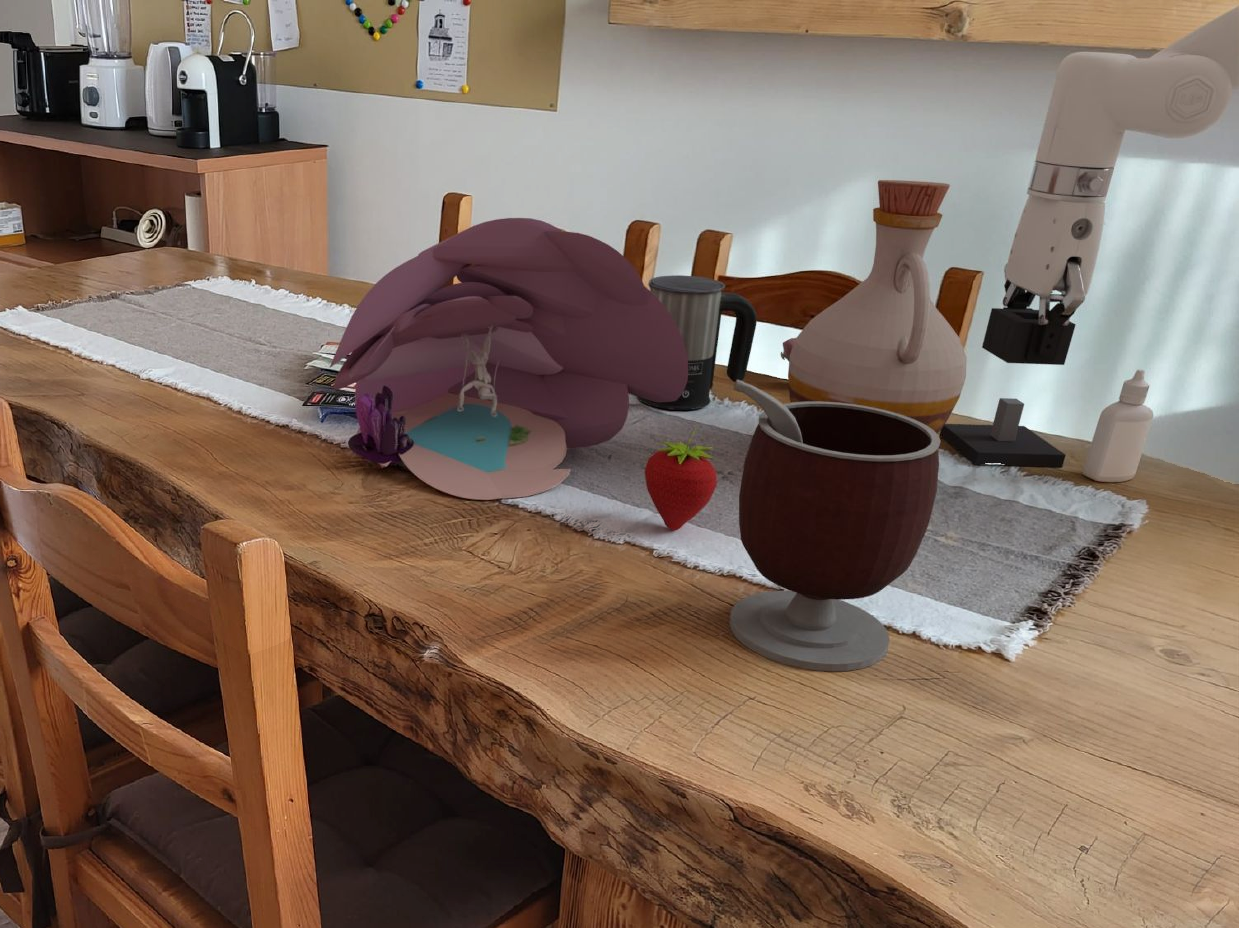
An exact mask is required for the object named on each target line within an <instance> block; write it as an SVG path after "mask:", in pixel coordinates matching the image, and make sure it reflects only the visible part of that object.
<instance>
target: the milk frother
mask: <svg viewBox="0 0 1239 928" xmlns="http://www.w3.org/2000/svg"><path fill="white" fill-rule="evenodd" d="M647 285H648V287H649V290H650V291H651V292H652V293H653V294H654V295H655V296H656V297H657V298H658V300H659V301H660V302H661V303H662V304H663V305H664V307H665V308H666V309H667V310H668V312H669V313H670V315H671V316H672V318H673V320H674V321H675V323H676V325H677V328H678V330H679V332H680V334H681V336H682V338H683V341H684V345H685V349H686V353H687V359H688V380H687V384H686V387H685V389H684V391H683V393H682V394H681V396H680V397H679V398H678V399H677V400H676V401H672V402H654V401H651V400H647V399H644V398H641V397H638V396H636V398H637V400H639V401H640V402H642V404H643V403H644V404H646V405H648V406H652V407H655V408H660V409H666V410H672V411H673V410H678V411H682V410H683V411H688V410H696V409H697V410H698V409H702V408H705V407H707V406H708V405H709V404H710V403H711V398H710V389H713V385H714V378H715V369H716V360H717V352H718V345H719V338H720V337H719V336H720V327H721V320H722V312H733V313H734V315H735V325H734V329H733V334H732V340H731V344H730V350H729V355H728V362H727V367H726V375H727V377H728V378H729V380H730V381H732V382H734V383H735V382H736V380H740V381H744V379H745V377H746V374H747V369H748V364H749V361H750V357H751V353H752V348H753V343H754V338H755V333H756V328H757V322H758V316H757V311H756V310H755V308H754V305H752V303H751V302H750V301H749V300H748V299H747V298H745V297H744V296H743V295H740V294H739V293H735V292H725V291H723V290H724V289H725V287H726V284H724V283H723V282H722V281H719V280H716V279H713V278H709V277H703V276H695V275H682V274H681V275H679V274H678V275H673V274H672V275H660V276H656V277H655V276H654V277H652V278H650V279H649V280H648V284H647ZM722 291H723V292H722Z"/></svg>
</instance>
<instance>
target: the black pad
mask: <svg viewBox="0 0 1239 928" xmlns="http://www.w3.org/2000/svg"><path fill="white" fill-rule="evenodd" d="M1038 319H1039V309H1033V310H1028V309H1003V308H998V307H996V308H995V307H992V308H991V310H990V313H989V318H988V322H987V325H986V329H985V333H984V337H983V342H982V346H981V348H982V349H984V350H985V351H987V352H988V353H990V354H991V355H993V356H995V357H996V358H998V359H1000V360H1002V361H1003V362H1005V363H1006V364H1020V365H1021V364H1022V365H1023V364H1025V365H1026V364H1027V365H1051V366H1052V365H1054V366H1059V365H1060V366H1065V364H1066V360H1067V356H1068V353H1069V349H1070V346H1071V343H1072V340H1073V339H1072V338H1073V335H1074V332H1075V329H1076V323H1074V322H1072V321H1070V320H1069V323H1068V325H1067V326H1065V328H1064V331H1063V335H1062V338H1061V342H1060V346H1059V349H1058V353H1057V356H1056V359H1055V361H1053V362H1040V361H1028V360H1026V359H1025V353H1026V350H1027V346H1028V342H1029V339H1030V335H1031V331H1032V327H1033V324H1034V323H1039V322H1038Z"/></svg>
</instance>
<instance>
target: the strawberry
mask: <svg viewBox="0 0 1239 928" xmlns="http://www.w3.org/2000/svg"><path fill="white" fill-rule="evenodd" d="M696 429H697V428H696V427H694V429H693V430H692V433H691V435H690V438H689V440H688V442H687V444H684V443H683V442H681V441H679V442H678V443H676V442H675V443H674V442H668V441H664V440H663V441H661V443H662V444H663V445H665V446H666V447H667V448H658V449H657V451H656V452H654V453H653V454H652V455H651V456H649V458H648V459H647V462H646V464H645V468H644V478H645V486H646V490H647V492H648V494H649V497H650V499H651V501H652V503H653V505H654V507H655V509H656V511H657V512H658V514H659V515H660V517H661V519H662V521H663V523H664V525H665V527H667V529H669V530H671V531H678V530H680V529H681V528H682V527H683V526H684V525H685V524H686V523H688V522H689V521H690V520H692V519H693V518H694V517H696V516H697V515H698V514H699V513H700V512H701V511H702V510H703V509H704V508H705V507H706V506H707V505H708V504H709V502H710V500H711V499H712V496H713V495H714V493H715V490H716V488H717V487H718V486H717V485H718V480H717V479H718V478H717V471H716V470H717V469H716V468H715V467H714V466H713V464H712V462H711V461H710V460H715V458H714V457H713V456H712V455H709V454H708V453H706V452H705V451H710V450H714V447H710V446H703V445H702V446H701V445H695V446H693V447H692V448H691V447H690V442H691V440H692V438H693V436H694V433H695V431H696Z"/></svg>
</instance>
